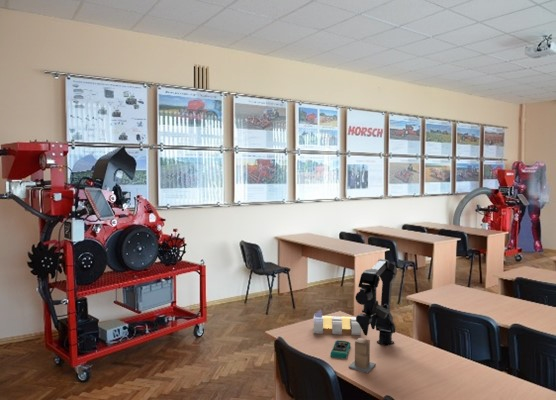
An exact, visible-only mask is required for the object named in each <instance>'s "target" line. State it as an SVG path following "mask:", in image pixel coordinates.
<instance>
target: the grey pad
mask: <svg viewBox="0 0 556 400" xmlns="http://www.w3.org/2000/svg"><path fill="white" fill-rule="evenodd" d="M375 366H376V363H375V362H372V361H370V364H369V365H368V366H367V367H366V368H362V367H358V366H355V360H354V361H353V362H352V363H351V364H349V365H348V369H352V370H355V371H358V372H362V373H366V374H369V373H370V372H371V370H373V369H374V367H375Z"/></svg>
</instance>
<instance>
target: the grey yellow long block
mask: <svg viewBox="0 0 556 400" xmlns="http://www.w3.org/2000/svg"><path fill="white" fill-rule="evenodd" d="M323 314H324V313H322V310H321V309H320V310H318V312H316V313H314V315H313V334H316V335H317V334H319V335H320V334H321V335H323V334H324V329H328V328H329V329H328V330H330V329H331V330H332V333H331V334H332V335H342V334H343V330H351V335H352V336H361V335H362V329H361V327H360V325H359V323H358V322H356V317H357V316H335V315H334V316H333V315H332V316H330V315H323Z"/></svg>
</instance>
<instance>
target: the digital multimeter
mask: <svg viewBox="0 0 556 400" xmlns="http://www.w3.org/2000/svg"><path fill="white" fill-rule="evenodd" d="M350 348H351V342H350V341H347V340H339V339H338V340H337V339H336V340H335V341H334V344H333V347H332V349H331V351H330V357H331V358H336V359H343V360H344V359H348V354H349V351H350Z"/></svg>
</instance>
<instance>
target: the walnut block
mask: <svg viewBox="0 0 556 400" xmlns="http://www.w3.org/2000/svg"><path fill="white" fill-rule="evenodd" d="M370 348H371V340H370V339H367V338H363V337H362V338H361V337H358V338H357V339H356V340H355V341H354V361H355V366H358V367H362V368H366V367H367V366H368V365H369V364H370V362H371V361H370V359H371V358H370V357H371V356H370V355H371V354H370V353H371V349H370Z"/></svg>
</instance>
